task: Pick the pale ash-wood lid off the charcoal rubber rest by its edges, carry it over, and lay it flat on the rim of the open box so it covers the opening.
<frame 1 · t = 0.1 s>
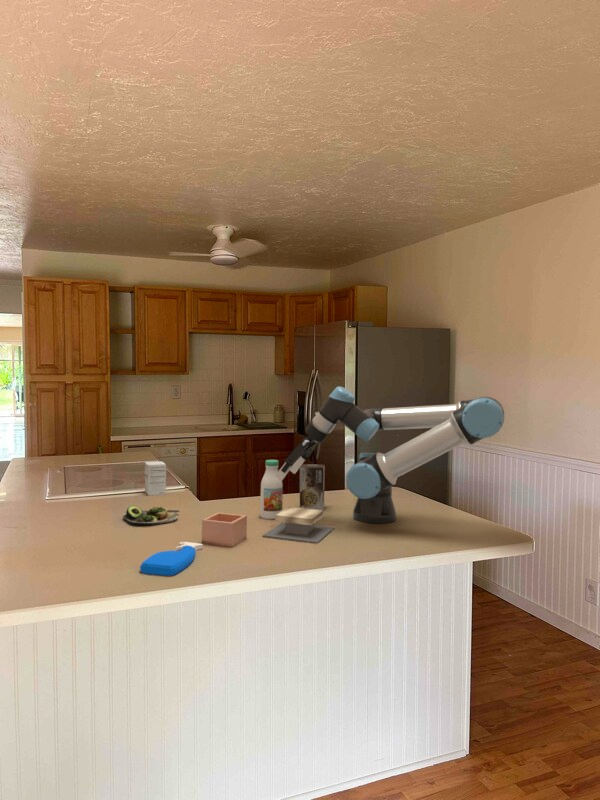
hand: (285, 475, 208), 15 cm above the table, tool tilted 35°, fingers open, 13 cm apart
open box: (224, 540, 182), on the table
spray bottle: (176, 562, 164), on the table
milk bottle: (271, 517, 211), on the table
salad plate: (148, 521, 205), on the table
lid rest: (299, 532, 192), on the table
lid: (299, 518, 192), point 4 cm above the table, touching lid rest
supplement box: (155, 493, 246), on the table
coffee box: (311, 508, 225), on the table
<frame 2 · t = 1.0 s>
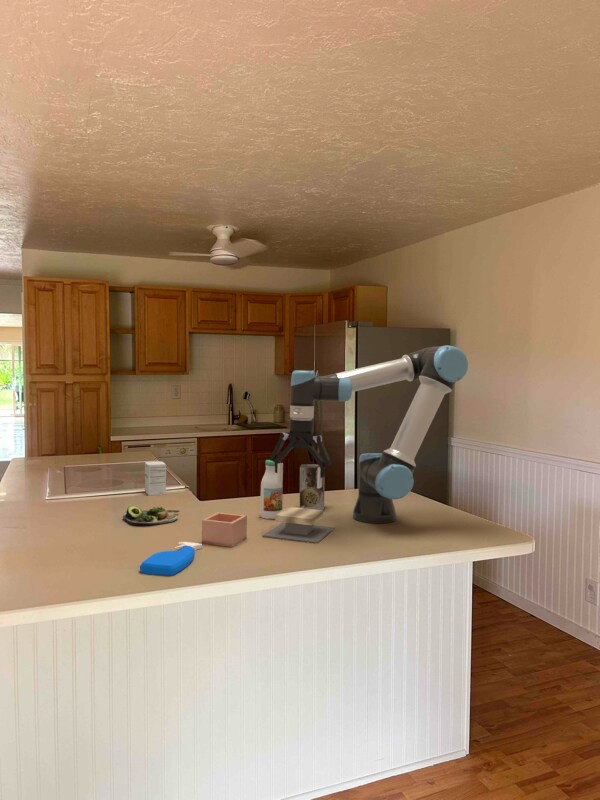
hand: (299, 485, 192), 15 cm above the table, tool pointing down, fingers open, 13 cm apart
nothing on the table moved.
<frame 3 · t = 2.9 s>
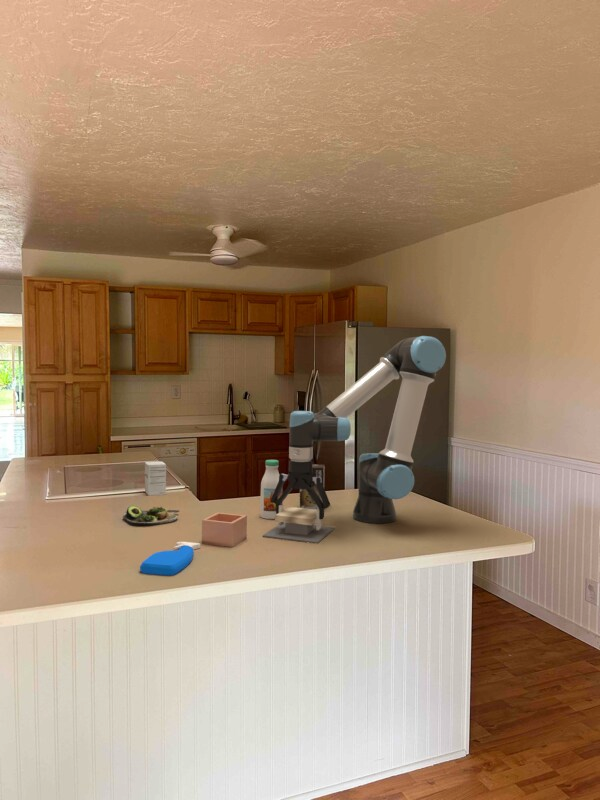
hand: (299, 527, 192), 2 cm above the table, tool pointing down, fingers closed on lid, 12 cm apart
lid: (299, 518, 192), point 5 cm above the table, touching gripper, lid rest
everything else where it was.
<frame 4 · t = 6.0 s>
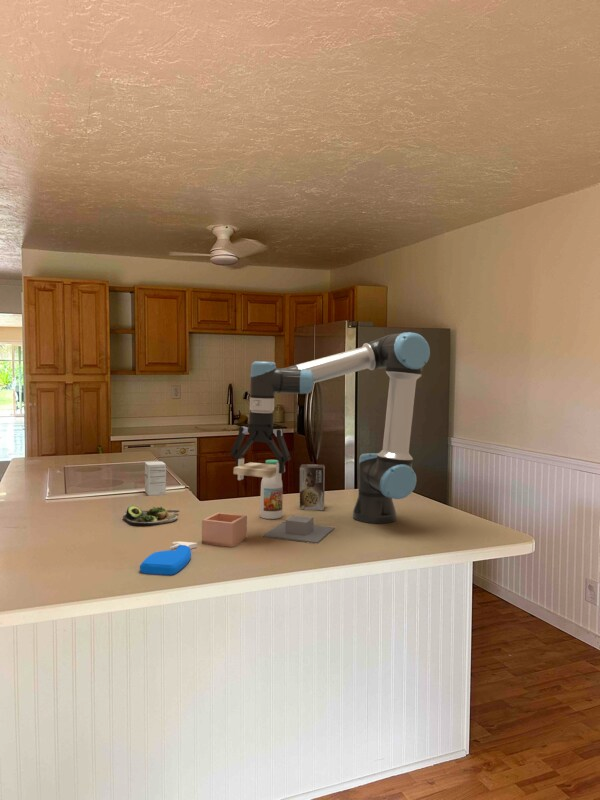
hand: (259, 481, 186), 17 cm above the table, tool pointing down, fingers closed on lid, 12 cm apart
lid: (259, 473, 185), point 20 cm above the table, touching gripper
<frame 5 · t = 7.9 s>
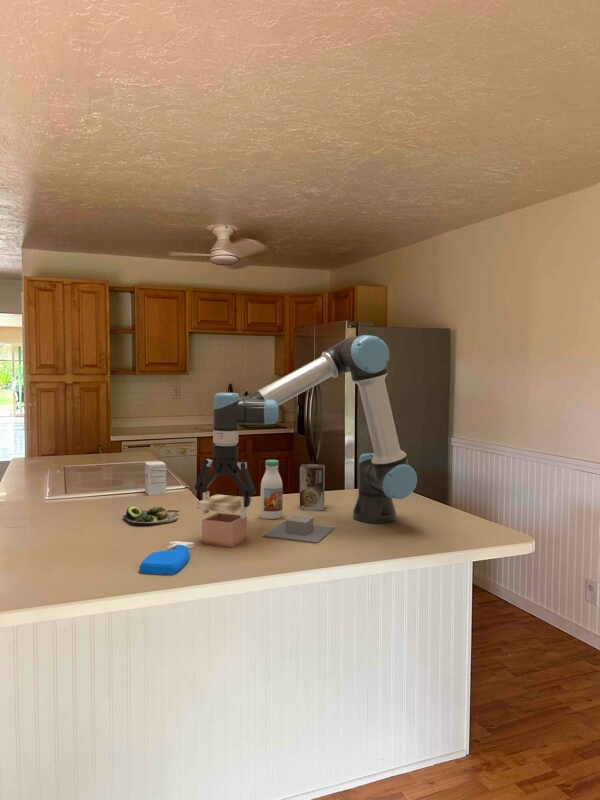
hand: (224, 515, 182), 8 cm above the table, tool pointing down, fingers closed on lid, 12 cm apart
lid: (224, 506, 181), point 10 cm above the table, touching gripper
when the fingers open (6 cm above the table, at t = 9.3 s): lid drops 2 cm, resting on open box.
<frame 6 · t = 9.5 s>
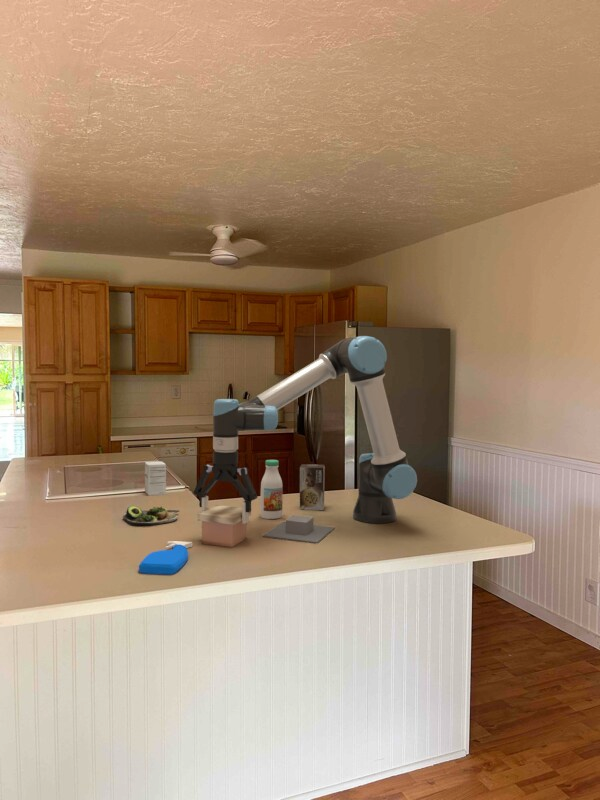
hand: (224, 520, 182), 6 cm above the table, tool pointing down, fingers open, 13 cm apart
lid: (224, 517, 182), point 7 cm above the table, touching open box
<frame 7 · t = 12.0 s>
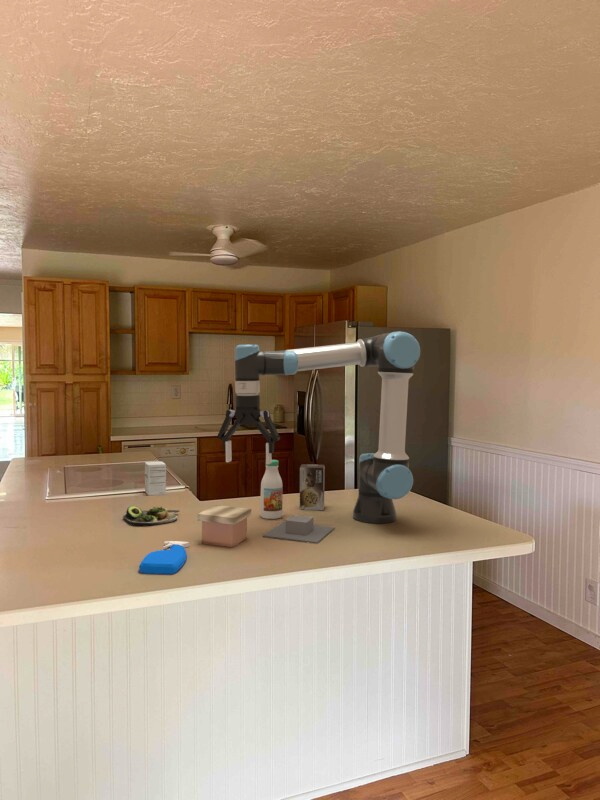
hand: (248, 462, 187), 23 cm above the table, tool pointing down, fingers open, 13 cm apart
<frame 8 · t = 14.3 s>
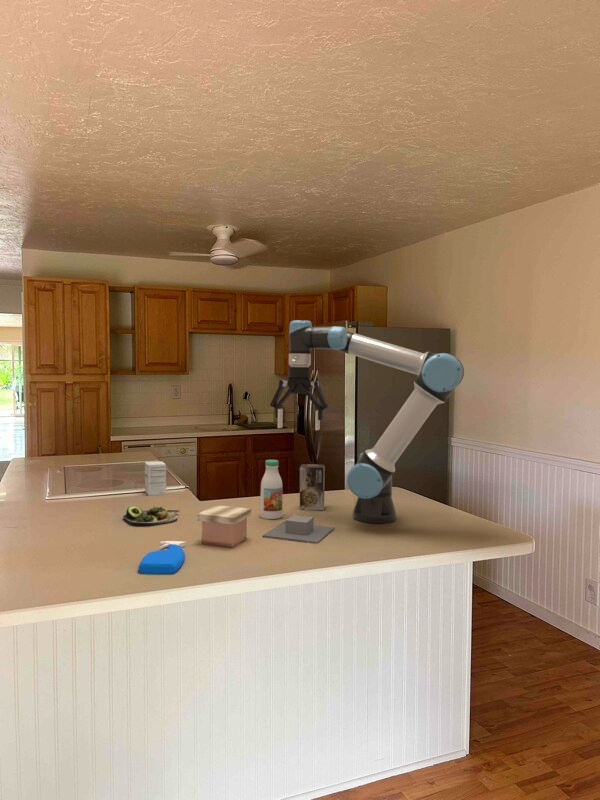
hand: (298, 428, 205), 32 cm above the table, tool pointing down, fingers open, 13 cm apart
at the end: lid 0.0 cm off-centre on the open box, point 7.0 cm above the open box's base; lid tilted 0°; the gripper is holding nothing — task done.
